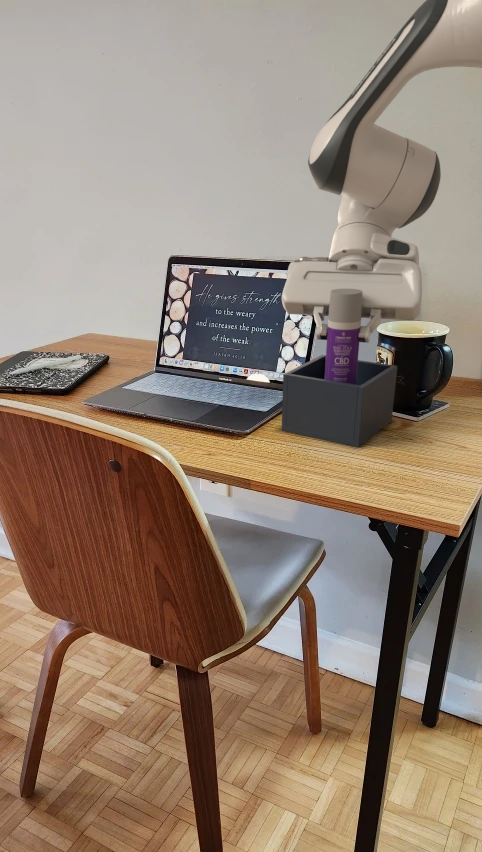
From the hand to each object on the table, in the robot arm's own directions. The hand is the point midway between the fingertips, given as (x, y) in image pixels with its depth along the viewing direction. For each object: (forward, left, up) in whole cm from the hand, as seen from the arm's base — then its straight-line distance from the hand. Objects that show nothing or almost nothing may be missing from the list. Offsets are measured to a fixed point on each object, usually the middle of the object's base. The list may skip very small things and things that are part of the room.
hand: (342, 339), depth 100 cm
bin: (0, -1, -14) cm, 14 cm away
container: (0, -1, -9) cm, 9 cm away
